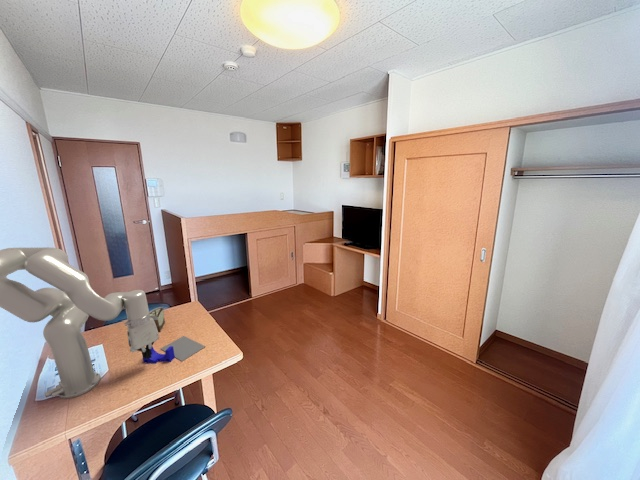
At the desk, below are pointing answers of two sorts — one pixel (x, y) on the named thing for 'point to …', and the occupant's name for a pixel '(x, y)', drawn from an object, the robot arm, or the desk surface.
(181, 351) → the pad
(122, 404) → the desk surface
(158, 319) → the food container
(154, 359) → the blue angular piece
